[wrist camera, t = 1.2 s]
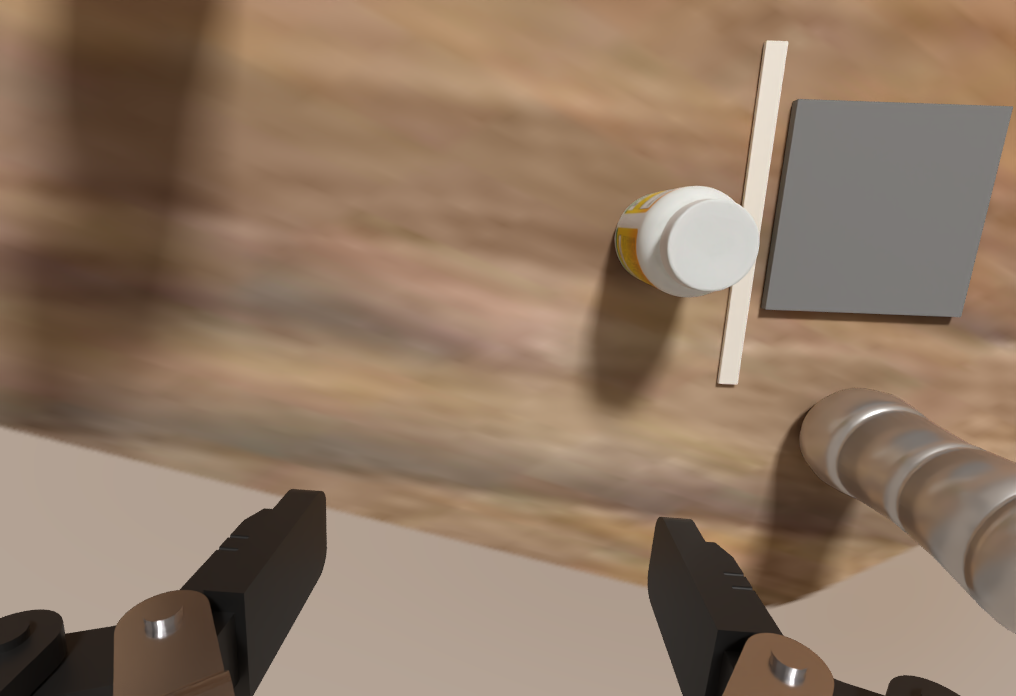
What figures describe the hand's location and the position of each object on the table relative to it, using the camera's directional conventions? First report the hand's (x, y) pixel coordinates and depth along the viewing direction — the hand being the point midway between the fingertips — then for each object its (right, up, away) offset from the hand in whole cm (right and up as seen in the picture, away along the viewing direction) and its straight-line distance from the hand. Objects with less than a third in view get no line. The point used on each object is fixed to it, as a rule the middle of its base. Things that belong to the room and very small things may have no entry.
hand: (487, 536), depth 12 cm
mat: (+23, +13, +19) cm, 32 cm away
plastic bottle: (+22, -1, +22) cm, 31 cm away
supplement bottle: (+10, +11, +19) cm, 24 cm away
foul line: (+15, +12, +19) cm, 27 cm away
